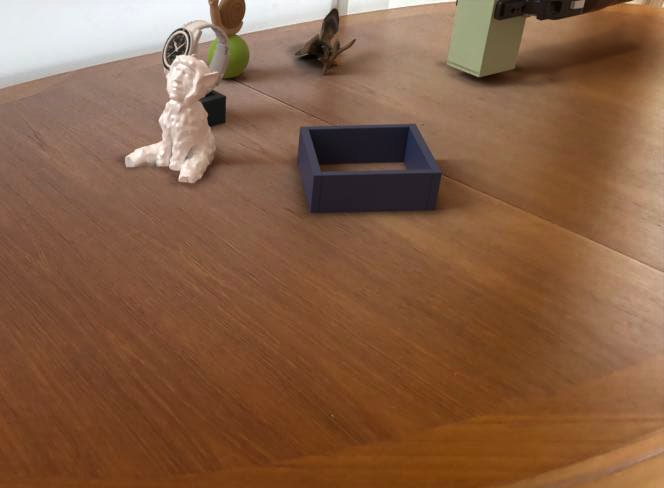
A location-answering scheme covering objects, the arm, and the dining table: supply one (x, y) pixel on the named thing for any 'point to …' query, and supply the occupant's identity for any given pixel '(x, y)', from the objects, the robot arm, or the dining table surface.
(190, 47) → the watch
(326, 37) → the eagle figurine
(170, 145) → the seated beast figurine
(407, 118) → the dining table surface
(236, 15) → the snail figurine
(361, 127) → the box
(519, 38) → the small bin
